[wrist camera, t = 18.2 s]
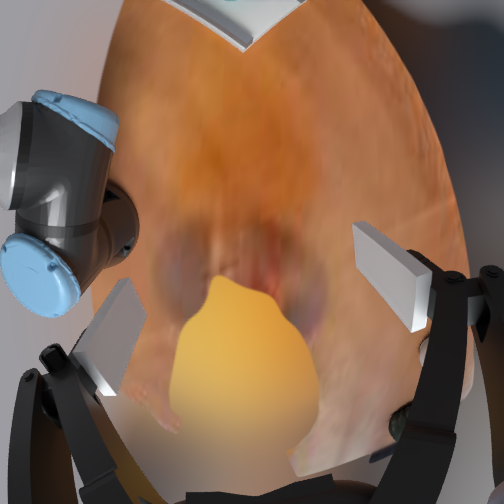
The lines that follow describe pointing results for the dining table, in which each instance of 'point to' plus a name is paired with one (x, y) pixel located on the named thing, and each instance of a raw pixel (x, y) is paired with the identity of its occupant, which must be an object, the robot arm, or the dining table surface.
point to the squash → (398, 423)
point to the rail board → (237, 17)
